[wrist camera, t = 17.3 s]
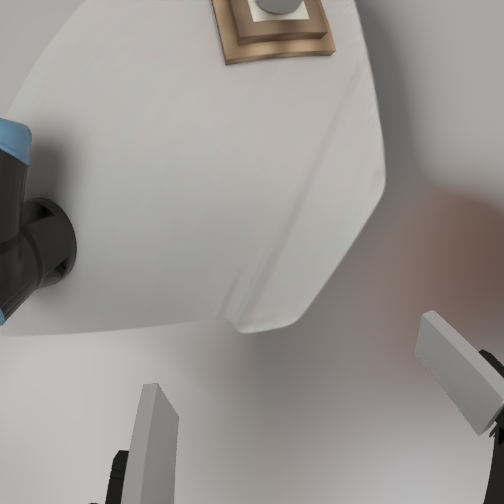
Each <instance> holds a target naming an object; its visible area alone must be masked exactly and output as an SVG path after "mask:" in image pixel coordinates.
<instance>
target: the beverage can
mask: <svg viewBox="0 0 504 504" xmlns="http://www.w3.org/2000/svg"><path fill="white" fill-rule="evenodd" d="M255 1H256V2H257V3H258V5H260V6H261V7H262V8H264V9H265V10H268V11H270V12H274V13H289V12H292V11H294V10H296V9H297V8H298V7H299V6H300V5H301V3H302V1H303V0H255Z"/></svg>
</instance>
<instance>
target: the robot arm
mask: <svg viewBox="0 0 504 504" xmlns="http://www.w3.org/2000/svg"><path fill="white" fill-rule="evenodd" d="M31 142H32V133H31V131H30V129H29V128H28V127H27V126H26V125H24V124H21V123H18V122H14V121H10V120H5V119H1V118H0V326H1V325H3V324H4V323H5V321H6V320H7V319H8V318H9V317H10V316H11V315H12V313H13V312H14V311H15V310H16V309H17V308H18V307H19V306H20V305H21V304H22V303H23V302H24V301H25V300H26V299H27V298H28V297H29V296H30V295H31V294H32V293H33V292H34V291H35V290H36V289H39V288H42V287H46V286H50V285H53V284H56V283H57V282H59V281H60V280H62V279H63V278H64V277H65V276H66V275H67V274H68V273H69V272H70V270H71V268H72V267H73V264H74V261H75V257H76V239H75V234H74V231H73V228H72V225H71V223H70V221H69V219H68V217H67V216H66V214H65V213H64V212H63V210H62V209H61V208H60V207H59V206H58V205H56V204H55V203H54V202H52V201H50V200H48V199H44V198H35V199H32V200H29V201H26V202H24V203H23V199H24V190H25V182H26V175H27V168H28V166H29V164H30V162H29V154H30V147H31ZM415 355H416V356H417V357H418V358H419V360H420V361H421V362H422V363H423V364H424V366H425V367H426V368H427V369H428V370H429V372H430V373H431V374H432V375H433V377H434V378H435V379H436V381H437V382H438V383H439V384H440V386H441V387H442V388H443V389H444V391H445V392H446V393H447V395H448V396H449V397H450V398H451V400H452V401H453V402H454V404H455V405H456V406H457V408H458V409H459V410H460V412H461V413H462V414H463V416H464V417H465V418H466V420H467V421H468V422H469V424H470V425H471V427H472V428H473V429H474V431H475V432H476V433H477V435H478V436H480V435H481V434H482V433H484V432H485V431H486V430H487V429H489V428H490V427H491V425H492V424H493V422H494V421H496V422H497V425H496V426H495V427H494V428H493V430H492V431H491V432H490V435H489V437H491V436H492V435H493V434H494V432H495V435H494V437H495V440H494V450H493V457H492V464H491V471H490V476H489V481H488V486H487V491H486V495H485V499H484V503H483V504H504V366H502V364H501V363H500V362H499V361H497V359H496V358H495V357H494V356H493V355H492V354H491V353H489V352H487V351H485V350H481V351H479V352H477V351H476V350H475V349H474V348H473V347H472V346H471V345H470V344H469V343H468V342H467V341H466V340H465V339H464V338H463V337H462V336H461V335H460V334H459V333H458V332H457V331H455V330H454V329H453V328H452V327H451V326H450V325H449V324H448V323H447V322H446V321H445V320H443V319H442V318H441V317H440V316H439V315H438V314H437V313H436V312H435V311H434V310H431V311H429V312H427V313H425V314H422V317H421V323H420V329H419V335H418V340H417V345H416V350H415ZM178 422H179V416H178V414H177V413H176V412H175V410H174V408H173V407H172V405H171V404H170V402H169V401H168V399H167V397H166V396H165V394H164V393H163V391H162V389H161V388H160V386H159V384H158V383H155V384H145V385H143V389H142V393H141V397H140V401H139V406H138V410H137V415H136V419H135V424H134V429H133V435H132V439H131V444H130V449H129V451H124V450H119V451H118V453H117V454H116V456H115V458H114V459H113V464H112V471H111V473H110V479H109V484H108V490H107V496H106V502H105V504H174V487H175V486H174V485H175V465H176V449H177V433H178ZM91 504H97V503H91Z"/></svg>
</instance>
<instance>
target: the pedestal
mask: <svg viewBox="0 0 504 504" xmlns="http://www.w3.org/2000/svg"><path fill="white" fill-rule="evenodd" d="M212 4H213V8H214V13H215V17H216V22H217V26H218V30H219V35H220V39H221V44H222V48H223V53H224V57H225V62H226V65H229V64H235V63H241V62H247V61H255V60H263V59H272V58H282V57H296V56H318V55H331V54H333V53H334V52H335V51H336V47H335V44H334V40H333V37H332V34H331V30H330V27H329V24H328V21H327V18H326V15H325V12H324V9H323V6H322V3H321V0H303V1H302V3H301V5H300V6H299V7H298V8H297V9H296V10H294V11H292V12H289V13H274V12H270V11H268V10H265V9H264V8H262V7H261V6H260V5H258V3H257V2H256V1H255V0H212Z"/></svg>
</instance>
